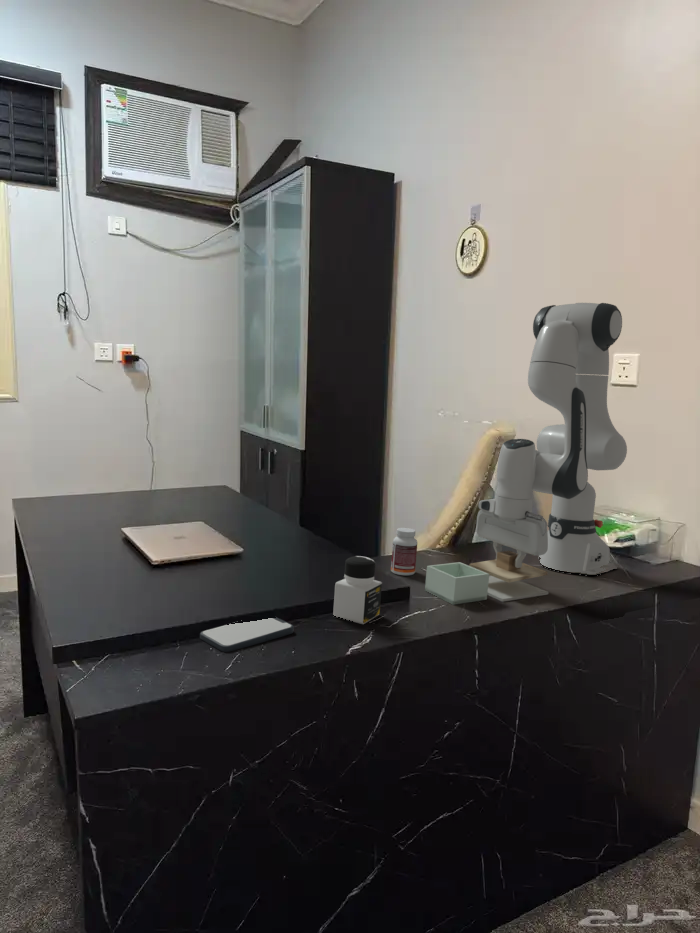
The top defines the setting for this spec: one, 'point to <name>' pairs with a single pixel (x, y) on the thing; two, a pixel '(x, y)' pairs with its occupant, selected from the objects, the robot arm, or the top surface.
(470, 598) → the pale green storage bin
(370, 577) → the medicine bottle
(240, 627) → the phone case
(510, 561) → the lid
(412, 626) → the top surface
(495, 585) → the mat
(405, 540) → the pill bottle
